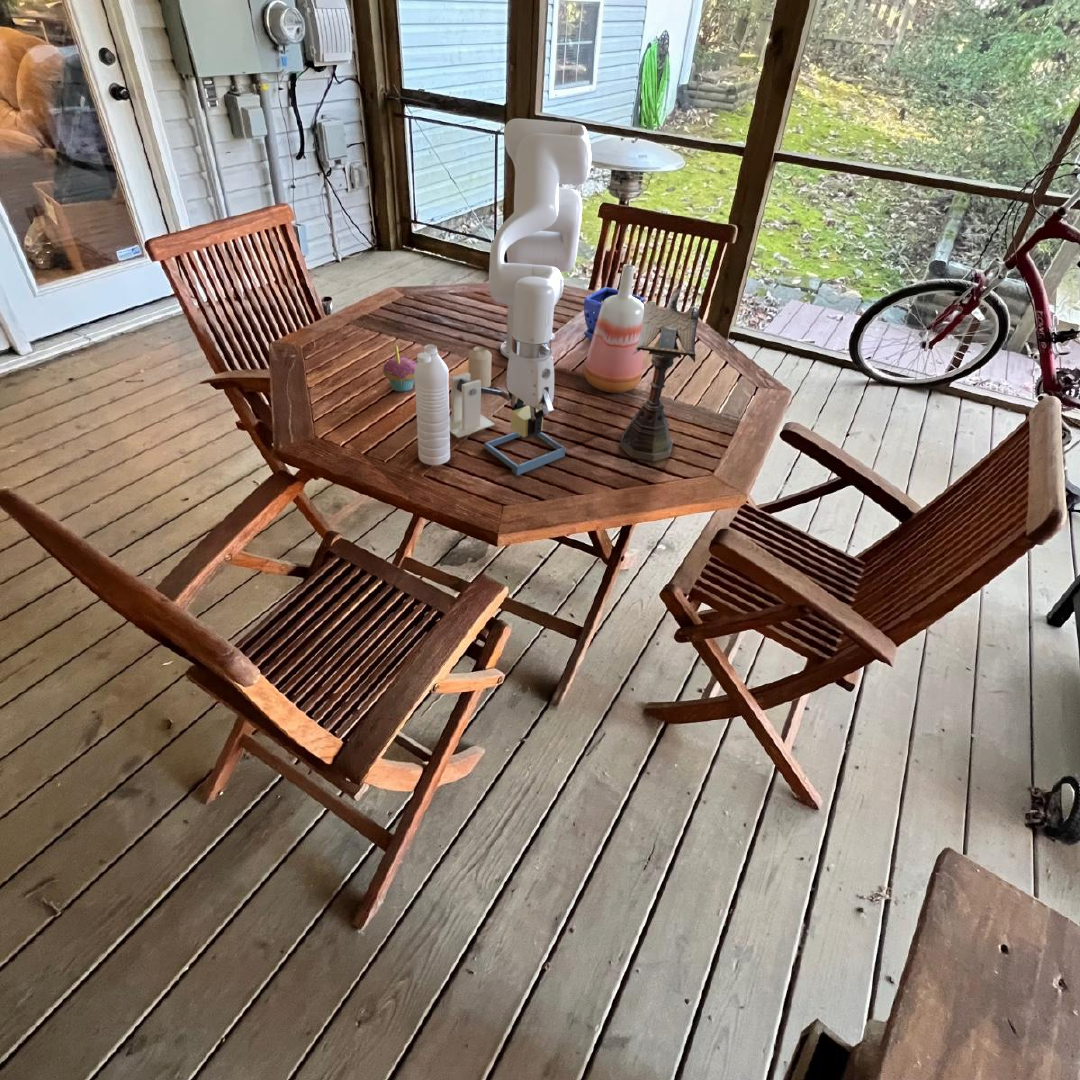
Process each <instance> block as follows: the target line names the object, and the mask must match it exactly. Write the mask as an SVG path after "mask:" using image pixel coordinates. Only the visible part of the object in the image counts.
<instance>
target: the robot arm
mask: <svg viewBox="0 0 1080 1080" xmlns="http://www.w3.org/2000/svg"><path fill="white" fill-rule="evenodd" d="M503 140H504V147H505V150H506V152H507V154H508V156H509V157H510V158H511V159H510V160H512V163H513V166H514V190H513V191H514V193H513V195H514V196H513V212H512V213H511V214H510V215H509V217H508V218H507V219H506V220H505V221H504V222H503V223H501V225H500V227H499V228H498V230H497V232H496V233H495V235H494V237H493V240H492V243H491V247H490V252H489V267H488V291H489V295H490V297H491V299H492V300H493V301H494V302H495V303H497V304H500V305H507V312H506V313H507V315H506V340H505V341H503V342H502V343H501V345H500V348H499V349H500V353H501V355H503V356H504V357H505V358H507V359H508V361H507V369H506V380H505V381H504V382H503V383H504V387H505V390H506V392H507V393H508V394H509V397H510V399H511V400H510V406H511V408H512V409H511V411H513V410H516V409H519V408H522V407H525V406H527V405H530V414H531V418H530V419H529V422H528V436H527V437H533V436H536V434H539V433H541V432H542V431H541V427H542V428H543V426H542V417H543V418H545V417H546V416H547V415H550V414H552V413H554V407H553V404H552V403H553V402H554V397H555V365H554V358H553V356H552V354H553V353H552V341H554V340H555V339H556V335H555V333H554V332H553V327H554V315H555V314H554V313H555V306H556V305H557V304H558V302H559V300H560V299H561V298H562V296H563V293H564V285H565V284H564V276H563V275H562V273H567V272H570V271H572V270H573V268H574V267H575V265H576V261H577V258H578V257H577V256H578V249H579V241H580V233H581V225H582V214H583V202H582V198H581V194H580V193H579V191H577V190H575V189H574V188H570V187H561V186H560V185H561V184H562V185H574V186H580V185H583V184H585V183H586V182H587V180H588V179H589V175H590V173H591V166H592V150H591V149H592V148H591V143H590V138H589V134H588V131H587V128H586V126H585V125H583V124H581V123H577V122H566V121H565V122H564V121H554V120H544V119H530V118H512V119H510V120H509V121H507V123H506V124H505V126H504V130H503ZM505 254H506V259H507V262H505ZM537 408H538V412H536V409H537Z"/></svg>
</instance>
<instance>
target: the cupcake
mask: <svg viewBox="0 0 1080 1080" xmlns="http://www.w3.org/2000/svg"><path fill="white" fill-rule="evenodd" d="M394 345H395V346H394V352H395V357H394V358H391V359H389V360H387V361H386V363H384V365H383V371H382V372H383V375H384V377H385V378H386V379H388V381H389V383H390V385H391V388H392V390H394V391H395V392H400V393H406V392H409V391H410V390H412V389H413V385H414V384H415V378H414V371H415V367H416V365H417V362H415V360H412V359H410V358H408V357H404V356H400V355H399V347H398V345H397V343H394Z"/></svg>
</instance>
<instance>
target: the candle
mask: <svg viewBox="0 0 1080 1080" xmlns="http://www.w3.org/2000/svg"><path fill="white" fill-rule="evenodd" d="M492 355H493V354H492V353H491V352H490V351H489V350H488V349H486V348H483V347H481V346H474V347H473V348H472V349H471V350H470V351H469V352H468V373H470V381H471V382H472V381H475V380H478V379H479V380H480V381H481V387H485V388H490V387H491V386H492Z"/></svg>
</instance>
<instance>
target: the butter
mask: <svg viewBox="0 0 1080 1080" xmlns="http://www.w3.org/2000/svg"><path fill="white" fill-rule="evenodd" d="M538 411H539V409H537V408H536V412H538ZM530 418H531V414H530V405H529V404H527V405H526V406H525V407H522V408H519V409H516V410H513V411H512V410H511V411H510V422H509V423H510V425H509V426H510V427H509V428H510V430H512V431H514V432H517V433H518V434H519V435H521V436H520V437H522V438H526V437H529V436H528V422H529V419H530ZM543 424H544V417H542V427H541V432H542V431H543Z"/></svg>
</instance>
